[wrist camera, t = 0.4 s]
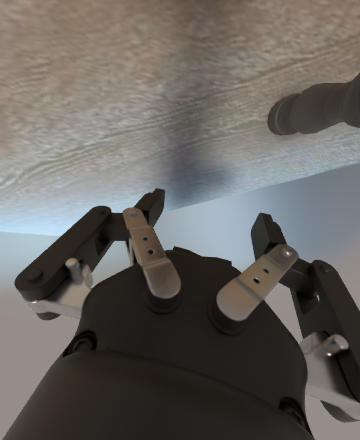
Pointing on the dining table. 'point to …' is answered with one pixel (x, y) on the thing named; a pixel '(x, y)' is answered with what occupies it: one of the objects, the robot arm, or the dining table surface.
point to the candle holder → (317, 108)
